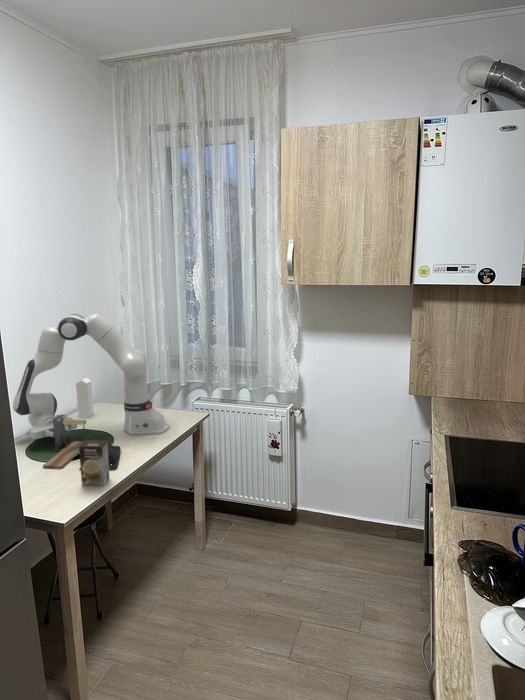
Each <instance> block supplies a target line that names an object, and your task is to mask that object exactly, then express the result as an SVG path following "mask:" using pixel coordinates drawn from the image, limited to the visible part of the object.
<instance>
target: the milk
mask: <svg viewBox="0 0 525 700" xmlns="http://www.w3.org/2000/svg"><path fill="white" fill-rule="evenodd" d="M75 388H76V398H77V399H76V400H77V411H78V413H77V414H78V418H79V419H81V418H84V419H85V418H87V419H89V418H91V417H92V416H93V415H94V406H93V405H94V403H93V402H94V401H93V390H92V380H91V379H89V378H87V377H86V374H84V375H83V376H81V377H80V380H78V382H76V383H75Z"/></svg>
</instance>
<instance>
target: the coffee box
mask: <svg viewBox="0 0 525 700" xmlns="http://www.w3.org/2000/svg"><path fill="white" fill-rule="evenodd" d="M108 443H109V442H108V440H89V439H88V440H87V439H85V440H84V442H83V443H82V444H81V445H80V446H79V452H80V453H79V464H80V467H81V471H80V476H81V477H80V478H81V486H83V487H86V486H87V487H106V485H107V484H108V482H109V481H110V471H109V460H108V445H109V444H108Z"/></svg>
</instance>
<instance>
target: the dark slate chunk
mask: <svg viewBox="0 0 525 700" xmlns="http://www.w3.org/2000/svg"><path fill="white" fill-rule="evenodd" d="M120 454H121V446H119V445H110V444H108V460H109V470H110V471H114V470H117V469H118V465H119V461H120V456H121V455H120ZM111 464H112V465H111ZM78 471H80V472H81V466H80V467H79V470H78Z"/></svg>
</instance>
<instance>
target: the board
mask: <svg viewBox="0 0 525 700" xmlns="http://www.w3.org/2000/svg"><path fill="white" fill-rule="evenodd" d="M84 441H85V440H84ZM84 441H83V440H82V441H81V440H79V441H78V440H77V441H76V440H72V441H71V442H69V444H66V447H65V448H64V449H63V450H60V451H59V452H58V453H56V454H55V455H54V456H52V457H51V458H50V459H49V460H48V461H46V462H45V463H44V464H42V468H43V469H54V470H55V469H56V470H57V469H58V470H62V469H64V468H65V467H66V466H67V465H68V464H70V462H71V461H72V460H73V456H74V452H75V450H76V451H77V449H79V446H80V445H81V444H82V443H83V442H84Z"/></svg>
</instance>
